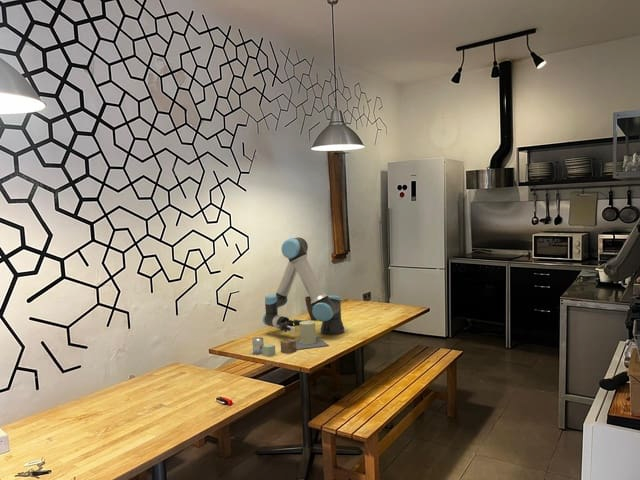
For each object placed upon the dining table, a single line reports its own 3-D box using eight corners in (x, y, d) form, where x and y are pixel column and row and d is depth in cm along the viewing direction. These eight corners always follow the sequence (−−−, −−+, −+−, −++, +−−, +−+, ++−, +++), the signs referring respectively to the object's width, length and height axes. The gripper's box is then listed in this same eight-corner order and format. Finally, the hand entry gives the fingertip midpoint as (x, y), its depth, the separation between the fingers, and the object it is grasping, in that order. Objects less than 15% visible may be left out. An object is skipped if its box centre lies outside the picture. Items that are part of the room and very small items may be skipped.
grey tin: (262, 350, 262) (262, 336, 261) (264, 353, 256) (264, 339, 256) (252, 352, 260) (251, 337, 260) (253, 355, 254) (253, 340, 254)
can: (314, 344, 268) (313, 323, 268) (298, 344, 270) (297, 323, 270) (317, 340, 277) (316, 319, 277) (302, 339, 279) (301, 319, 279)
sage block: (270, 353, 258) (269, 343, 257) (275, 354, 254) (275, 345, 254) (262, 355, 254) (262, 345, 254) (267, 356, 250) (267, 347, 250)
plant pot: (326, 321, 329) (325, 298, 328) (305, 322, 329) (304, 299, 328) (326, 316, 344) (325, 295, 343) (306, 317, 344) (305, 295, 343)
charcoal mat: (318, 337, 285) (318, 336, 285) (328, 346, 266) (328, 345, 266) (286, 341, 279) (286, 340, 279) (294, 350, 260) (294, 349, 260)
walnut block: (289, 349, 262) (289, 339, 262) (296, 351, 258) (295, 340, 258) (281, 352, 258) (280, 341, 258) (287, 354, 254) (287, 343, 254)
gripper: (297, 324, 298) (319, 329, 282) (265, 332, 281) (287, 338, 265) (296, 313, 297) (319, 317, 281) (264, 320, 281) (286, 325, 265)
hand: (303, 327), depth 273 cm, fingers open, 13 cm apart
